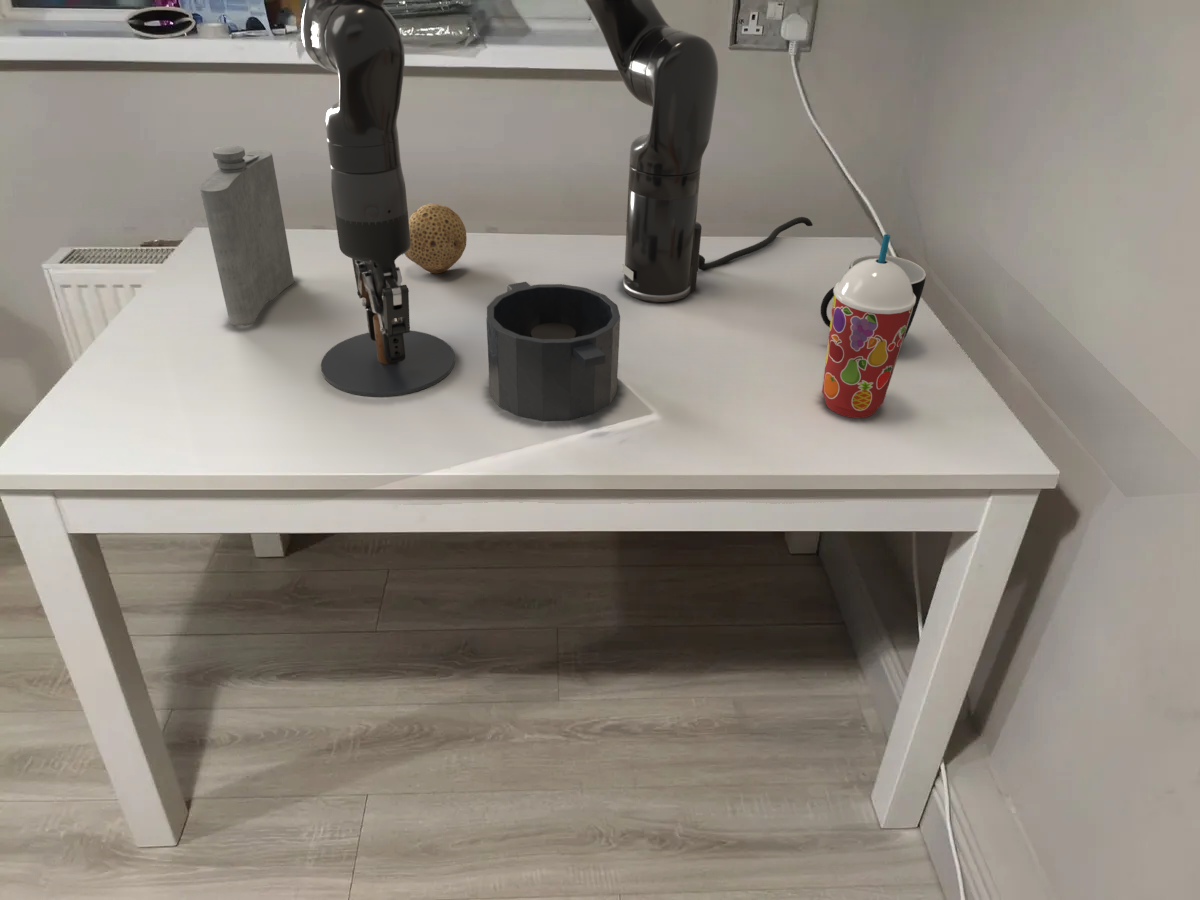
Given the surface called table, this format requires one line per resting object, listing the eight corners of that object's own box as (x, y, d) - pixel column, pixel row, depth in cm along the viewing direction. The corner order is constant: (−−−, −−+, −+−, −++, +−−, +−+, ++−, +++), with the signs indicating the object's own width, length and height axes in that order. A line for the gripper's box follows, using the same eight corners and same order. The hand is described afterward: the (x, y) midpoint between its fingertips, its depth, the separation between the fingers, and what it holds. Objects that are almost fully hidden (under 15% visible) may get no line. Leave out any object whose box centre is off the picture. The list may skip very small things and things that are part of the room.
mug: (891, 326, 120) (908, 253, 114) (919, 359, 112) (939, 283, 107) (803, 329, 118) (815, 256, 113) (826, 363, 111) (841, 286, 105)
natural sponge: (472, 285, 127) (468, 215, 121) (407, 290, 125) (400, 219, 119) (465, 260, 134) (461, 193, 128) (403, 264, 132) (396, 196, 126)
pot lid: (430, 328, 116) (425, 279, 112) (474, 383, 105) (471, 331, 101) (308, 352, 109) (299, 302, 106) (342, 413, 98) (333, 359, 95)
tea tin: (563, 373, 106) (564, 319, 102) (583, 393, 103) (584, 338, 99) (524, 382, 104) (523, 327, 100) (542, 403, 101) (542, 347, 97)
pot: (570, 342, 114) (571, 267, 108) (650, 419, 99) (656, 337, 94) (463, 365, 108) (458, 287, 102) (531, 450, 94) (530, 365, 88)
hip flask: (250, 330, 114) (217, 170, 102) (219, 328, 114) (182, 167, 103) (297, 278, 127) (272, 131, 115) (269, 276, 127) (241, 129, 116)
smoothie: (891, 394, 105) (931, 227, 94) (885, 431, 99) (928, 256, 87) (818, 381, 107) (849, 216, 96) (808, 416, 101) (840, 243, 90)
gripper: (427, 224, 92) (439, 370, 102) (385, 181, 103) (399, 318, 112) (354, 235, 89) (373, 384, 99) (318, 190, 100) (338, 329, 109)
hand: (387, 348), depth 106 cm, fingers open, 5 cm apart
